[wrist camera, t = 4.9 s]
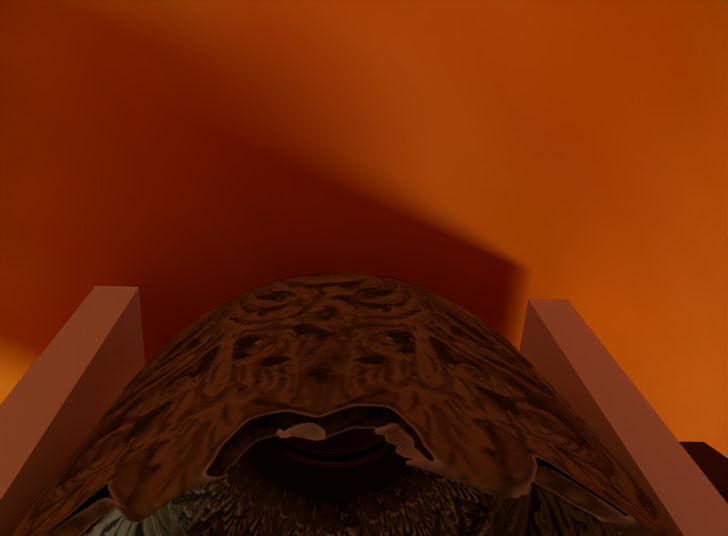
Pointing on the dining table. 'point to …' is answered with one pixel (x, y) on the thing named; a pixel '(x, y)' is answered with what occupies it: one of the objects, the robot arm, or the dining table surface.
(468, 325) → the brown rounded piece
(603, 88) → the dining table surface
